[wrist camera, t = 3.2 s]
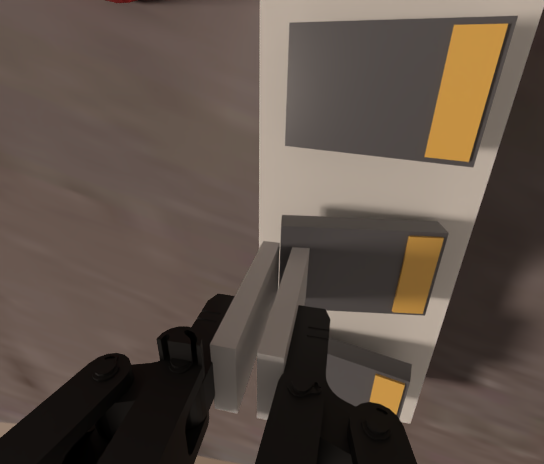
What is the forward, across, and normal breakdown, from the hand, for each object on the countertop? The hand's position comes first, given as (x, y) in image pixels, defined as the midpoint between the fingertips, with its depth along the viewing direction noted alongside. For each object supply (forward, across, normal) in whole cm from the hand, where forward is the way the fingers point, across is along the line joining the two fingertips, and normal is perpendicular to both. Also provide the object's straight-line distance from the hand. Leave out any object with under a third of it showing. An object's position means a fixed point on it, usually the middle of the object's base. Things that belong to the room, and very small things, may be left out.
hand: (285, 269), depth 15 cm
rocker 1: (+1, +3, +8) cm, 8 cm away
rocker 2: (+1, +3, -7) cm, 8 cm away
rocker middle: (+1, +3, 0) cm, 3 cm away
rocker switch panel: (+6, +3, +3) cm, 8 cm away
